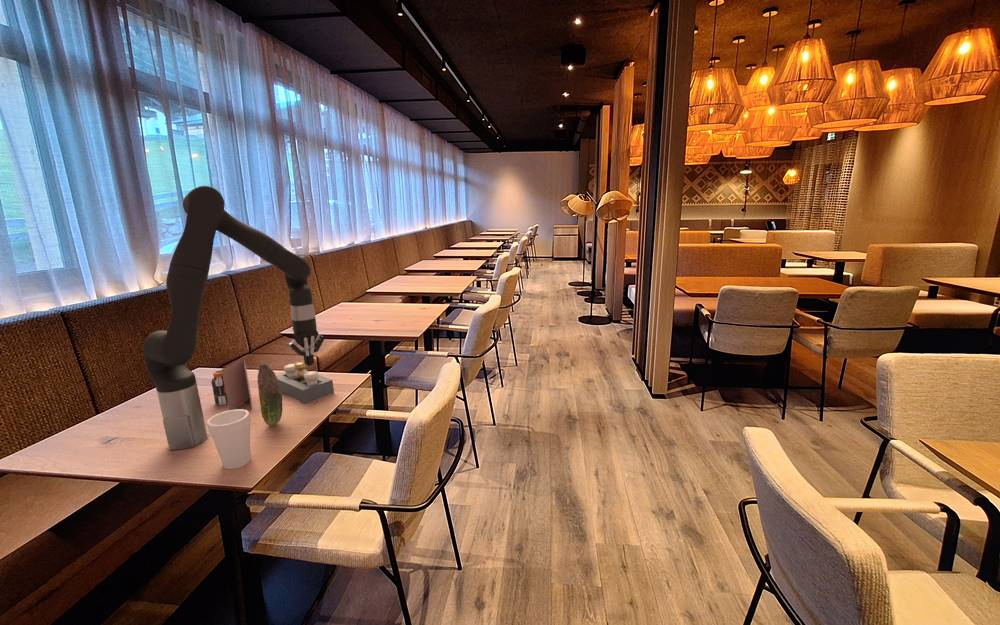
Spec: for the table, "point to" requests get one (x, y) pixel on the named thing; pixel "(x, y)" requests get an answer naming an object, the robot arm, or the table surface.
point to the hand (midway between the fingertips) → (309, 365)
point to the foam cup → (231, 437)
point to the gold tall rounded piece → (300, 370)
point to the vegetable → (269, 395)
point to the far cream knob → (290, 370)
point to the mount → (305, 388)
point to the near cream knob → (311, 378)
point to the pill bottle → (219, 388)
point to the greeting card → (236, 384)
